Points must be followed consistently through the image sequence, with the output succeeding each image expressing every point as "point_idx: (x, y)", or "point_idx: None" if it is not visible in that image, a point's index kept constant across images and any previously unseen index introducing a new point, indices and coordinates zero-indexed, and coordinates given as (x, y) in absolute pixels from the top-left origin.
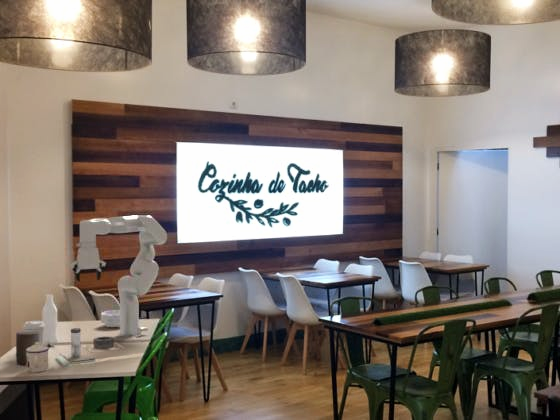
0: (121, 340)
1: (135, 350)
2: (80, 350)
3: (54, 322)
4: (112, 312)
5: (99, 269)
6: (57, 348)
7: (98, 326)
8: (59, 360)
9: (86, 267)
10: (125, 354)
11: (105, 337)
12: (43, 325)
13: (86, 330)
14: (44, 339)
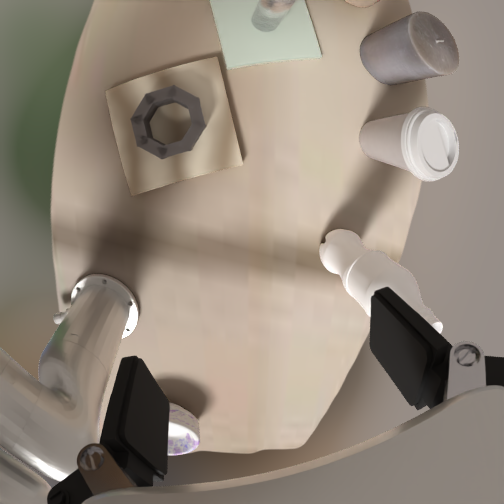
0: (119, 254)
1: (79, 101)
2: (255, 8)
3: (358, 258)
4: (174, 449)
5: (100, 475)
6: (318, 195)
7: (205, 417)
8: (310, 20)
9: (391, 460)
10: (112, 55)
11: (159, 143)
12: (408, 124)
13: (232, 391)
14: (359, 238)
